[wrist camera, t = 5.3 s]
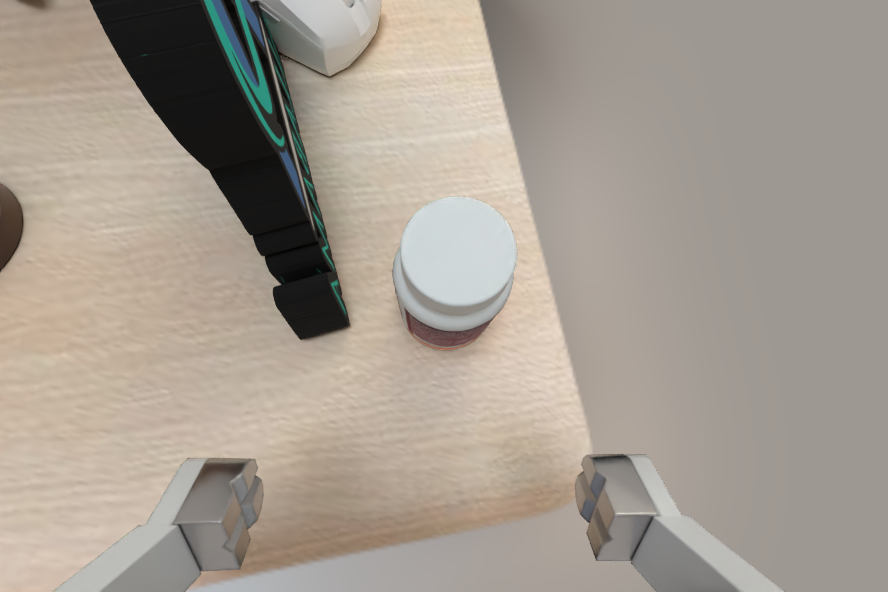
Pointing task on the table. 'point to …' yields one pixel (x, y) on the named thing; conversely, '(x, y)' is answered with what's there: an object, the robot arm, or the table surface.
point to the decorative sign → (236, 133)
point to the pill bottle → (453, 271)
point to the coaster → (9, 224)
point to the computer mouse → (322, 30)
